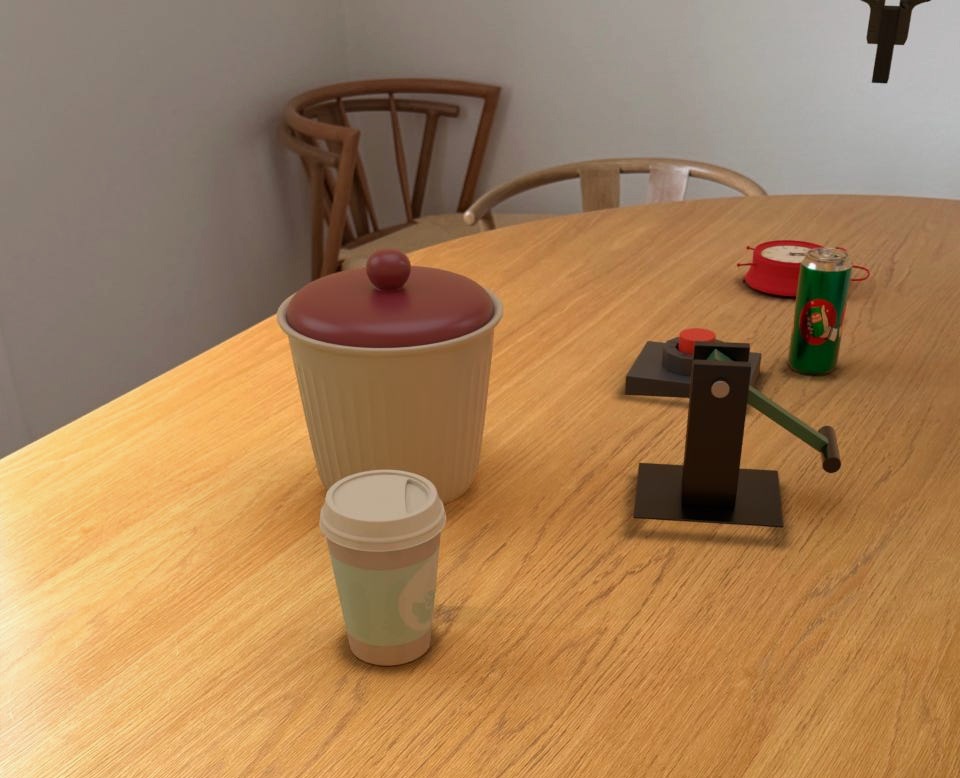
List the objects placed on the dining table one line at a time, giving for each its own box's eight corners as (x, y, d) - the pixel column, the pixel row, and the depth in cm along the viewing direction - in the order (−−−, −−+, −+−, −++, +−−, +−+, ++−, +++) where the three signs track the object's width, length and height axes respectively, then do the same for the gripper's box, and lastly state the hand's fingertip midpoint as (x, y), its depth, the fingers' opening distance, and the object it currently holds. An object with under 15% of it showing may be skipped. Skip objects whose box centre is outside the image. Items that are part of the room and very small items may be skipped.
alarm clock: (745, 237, 157) (870, 220, 152) (751, 286, 160) (873, 271, 155) (732, 262, 149) (863, 245, 143) (738, 314, 152) (867, 298, 146)
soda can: (809, 355, 135) (825, 243, 128) (846, 369, 131) (865, 255, 125) (776, 366, 132) (791, 252, 126) (813, 381, 129) (830, 265, 122)
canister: (413, 565, 99) (401, 305, 87) (251, 502, 108) (221, 258, 96) (543, 481, 111) (549, 241, 99) (388, 430, 120) (376, 205, 108)
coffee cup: (409, 690, 86) (401, 537, 79) (307, 656, 89) (291, 506, 82) (471, 629, 92) (468, 482, 85) (373, 599, 95) (363, 455, 88)
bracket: (775, 485, 110) (796, 333, 102) (781, 542, 102) (804, 381, 94) (638, 477, 111) (648, 327, 104) (632, 532, 103) (642, 374, 96)
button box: (759, 373, 131) (763, 336, 129) (744, 411, 123) (749, 372, 121) (646, 360, 134) (648, 324, 132) (624, 396, 126) (626, 358, 124)
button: (717, 346, 127) (718, 329, 126) (710, 359, 125) (712, 342, 124) (681, 342, 128) (683, 326, 127) (675, 355, 126) (676, 338, 125)
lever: (823, 448, 105) (842, 427, 104) (828, 481, 100) (849, 459, 99) (696, 362, 103) (715, 339, 101) (696, 391, 98) (715, 367, 96)
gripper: (1003, -209, 112) (950, 76, 125) (853, -207, 116) (817, 70, 129) (1003, -208, 106) (948, 91, 120) (845, -206, 110) (808, 84, 123)
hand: (880, 80), depth 124 cm, fingers closed
